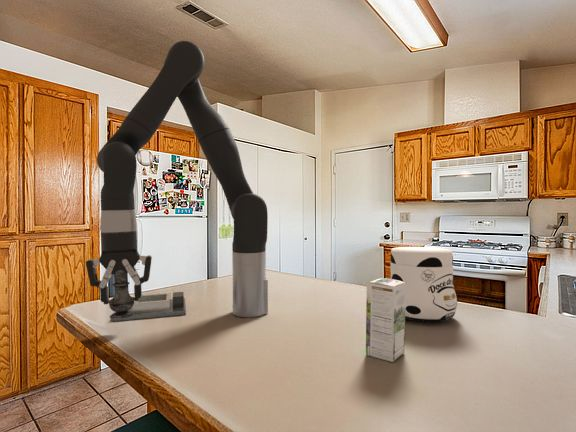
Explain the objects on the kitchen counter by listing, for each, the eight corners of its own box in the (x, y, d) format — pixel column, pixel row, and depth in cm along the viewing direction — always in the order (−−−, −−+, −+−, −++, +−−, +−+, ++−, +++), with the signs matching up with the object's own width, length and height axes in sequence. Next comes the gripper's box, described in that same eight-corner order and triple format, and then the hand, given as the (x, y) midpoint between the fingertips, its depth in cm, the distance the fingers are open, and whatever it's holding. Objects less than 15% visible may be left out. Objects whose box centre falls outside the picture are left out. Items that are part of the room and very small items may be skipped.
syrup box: (377, 346, 71) (377, 277, 71) (405, 353, 67) (405, 280, 67) (365, 355, 66) (365, 281, 66) (394, 363, 62) (394, 285, 62)
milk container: (462, 330, 80) (462, 254, 80) (385, 323, 85) (385, 252, 85) (452, 310, 96) (452, 247, 96) (388, 305, 102) (388, 245, 102)
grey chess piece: (125, 319, 76) (123, 266, 75) (102, 318, 77) (100, 266, 77) (141, 311, 81) (139, 262, 81) (119, 311, 82) (117, 262, 82)
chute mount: (185, 302, 107) (185, 288, 107) (185, 314, 93) (185, 299, 93) (122, 307, 101) (122, 293, 101) (113, 321, 88) (113, 305, 88)
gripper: (153, 228, 85) (155, 295, 85) (87, 230, 80) (90, 301, 80) (151, 229, 77) (153, 302, 78) (79, 232, 73) (82, 310, 73)
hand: (121, 301), depth 79 cm, fingers closed on grey chess piece, 6 cm apart
